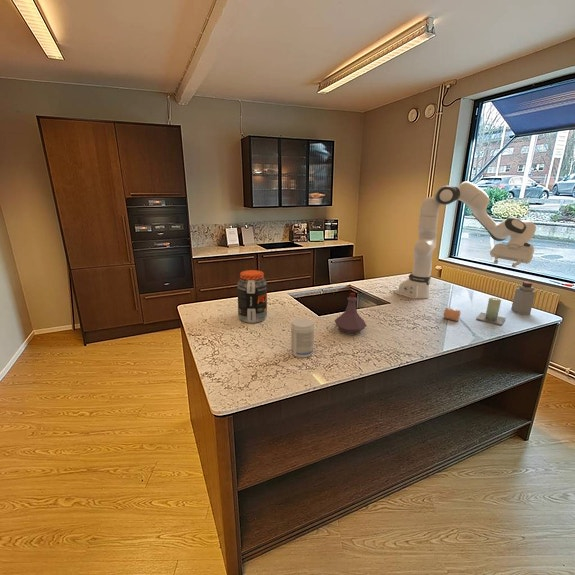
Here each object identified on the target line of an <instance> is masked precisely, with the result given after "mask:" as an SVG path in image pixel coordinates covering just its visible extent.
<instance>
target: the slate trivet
mask: <svg viewBox="0 0 575 575" xmlns="http://www.w3.org/2000/svg"><path fill="white" fill-rule="evenodd" d="M485 315H486V312H480V313H479V314H478V315H477V317H476V319H475V320H476V321H481V322H484V323H488V324H493V325H496V326H499V327H501V326H503V324H504V322H505V320H506V317H503V316H500V315H498V316H497V320H490V319H487V318H485Z"/></svg>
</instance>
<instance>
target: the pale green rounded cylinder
mask: <svg viewBox="0 0 575 575" xmlns="http://www.w3.org/2000/svg"><path fill="white" fill-rule="evenodd" d="M501 302H502V300H501V299H500V298H496V297H489V298H488V302H487V305H486V306H487V307H486V311H485V313H486V315H485V318H487V319H490V320H497V316H499V311H500V307H501V306H500V305H501Z"/></svg>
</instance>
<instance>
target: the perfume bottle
mask: <svg viewBox="0 0 575 575" xmlns="http://www.w3.org/2000/svg"><path fill="white" fill-rule="evenodd" d="M518 287H519V288H518ZM518 287H516V288H515V291H514V296H513V299H512V302H511V303H512V304H511V308H510V309H511V310H512V311H513V312H515V313H517V314H519V315H520V314H521V315H522V314H523V315H525V314H527V315H530V314H531V311H532V308H533V305H534V301H535V297H536V293H537V292H536V291H535V287H533V283H532V282H530V281H522V284H518Z"/></svg>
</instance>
